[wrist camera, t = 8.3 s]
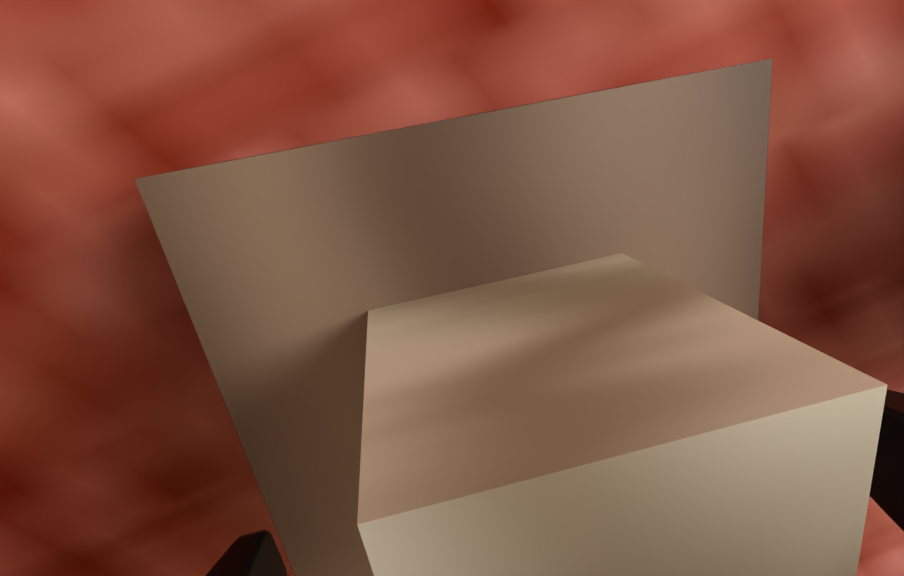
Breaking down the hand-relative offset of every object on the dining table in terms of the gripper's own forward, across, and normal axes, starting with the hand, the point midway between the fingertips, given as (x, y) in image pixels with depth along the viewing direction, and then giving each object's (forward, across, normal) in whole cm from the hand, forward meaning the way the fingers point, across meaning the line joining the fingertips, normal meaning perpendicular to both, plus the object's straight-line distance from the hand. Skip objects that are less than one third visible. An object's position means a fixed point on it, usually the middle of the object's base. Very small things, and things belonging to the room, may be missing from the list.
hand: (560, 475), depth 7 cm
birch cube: (+2, 0, 0) cm, 2 cm away
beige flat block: (+6, 0, 0) cm, 6 cm away
